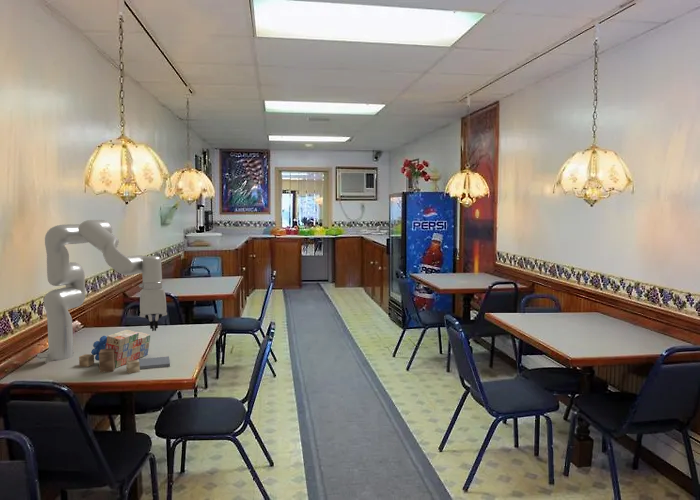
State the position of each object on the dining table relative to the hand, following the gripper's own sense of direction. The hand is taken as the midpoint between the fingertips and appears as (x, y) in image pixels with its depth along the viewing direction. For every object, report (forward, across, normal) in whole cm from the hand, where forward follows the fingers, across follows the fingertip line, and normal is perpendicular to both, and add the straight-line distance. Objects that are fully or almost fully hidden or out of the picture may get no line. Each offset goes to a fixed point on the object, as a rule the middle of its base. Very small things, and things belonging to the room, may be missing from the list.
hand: (154, 330), depth 224 cm
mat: (+14, 0, 0) cm, 14 cm away
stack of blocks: (+14, -12, +10) cm, 20 cm away
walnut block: (+14, -18, -3) cm, 23 cm away
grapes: (+14, -20, +10) cm, 26 cm away
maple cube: (+14, -8, -8) cm, 18 cm away
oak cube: (+14, -26, +8) cm, 31 cm away
